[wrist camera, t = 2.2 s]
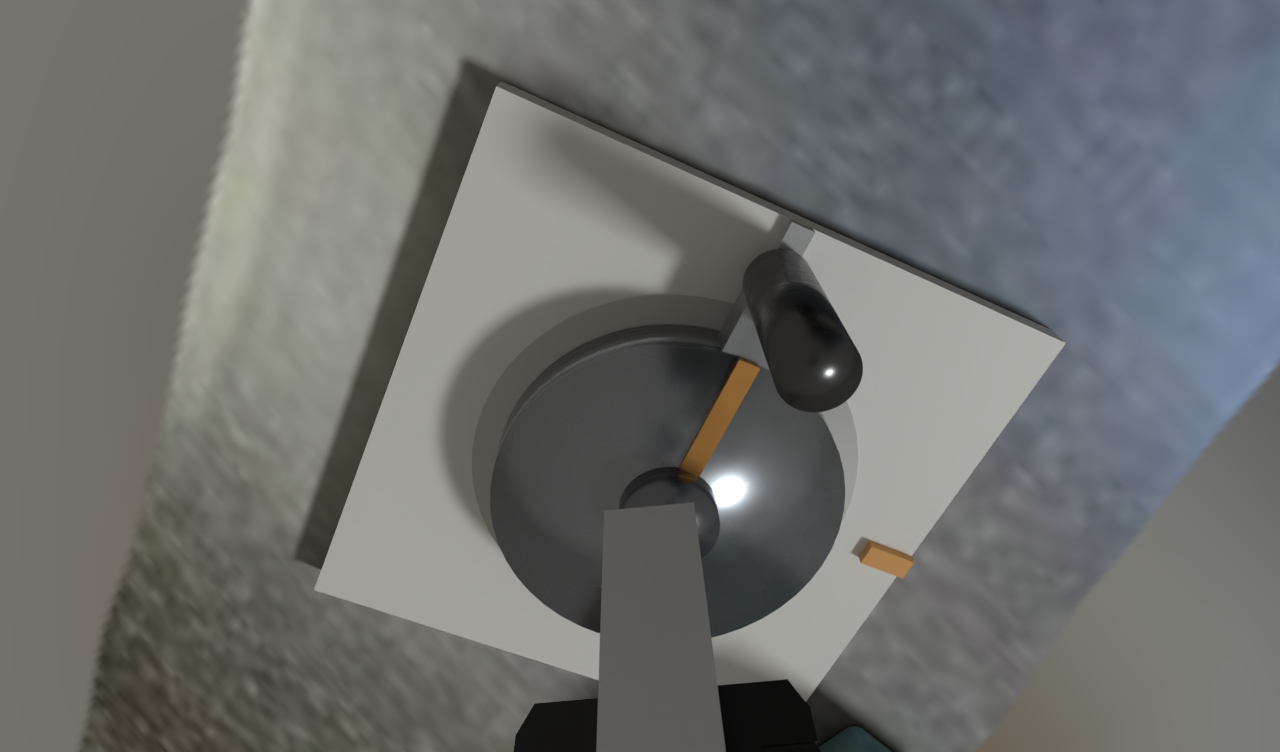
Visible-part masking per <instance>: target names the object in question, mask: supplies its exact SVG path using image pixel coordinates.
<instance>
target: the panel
mask: <svg viewBox="0 0 1280 752" xmlns="http://www.w3.org/2000/svg"><path fill="white" fill-rule="evenodd" d="M774 249H786V250H790V251H793V252H795V253H797V254H799V255H800V256H802V257H803V258H804V259H805V260H806V261H807V263H808V264H809V266H810V268H811V270H812V271H813V273H814V275H815V277H816V278H817V280H818V282H819V284H820V285H821V287H822V289H823V291H824V292H825V294H826V296H827V298H828V299H829V301H830V303H831V305H832V306H833V308H834V310H835V312H836V313H837V315H838V317H839V319H840V320H841V322H842V324H843V326H844V327H845V329H846V331H847V332H848V334H849V336H850V338H851V339H852V341H853V343H854V345H855V346H856V348H857V350H858V352H859V353H860V356H861V359H862V363H863V374H862V379H861V382H860V384H859V386H858V388H857V390H856V391H855V392H854V394H853V395H852V396H851V397H850V398H849V399H848V400H847V401H846V402H844V403H843V404H841V405H840V406H838V407H836V408H833V409H831V410H828V411H824V412H822V413H823V415H824V418H825V420H826V423H827V425H828V427H829V430H830V432H831V434H832V437H833V439H834V442H835V444H836V447H837V449H838V451H839V454H840V458H841V462H842V467H843V471H844V480H845V504H844V513H843V517H842V521H841V525H840V530H839V532H838V535H837V537H836V540H835V542H834V545H833V547H832V549H831V551H830V553H829V554H828V556H827V558H826V560H825V561H824V563H823V565H822V566H821V567H820V569H819V570H818V571H817V573H816V574H815V575H814V577H813V578H812V579H811V580H810V582H809V583H808V584H807V585H806V586H805V587H804V588H803V589H802V590H801V591H800V592H799V593H798V594H797V595H796V596H794V597H793V598H792V599H790V600H789V601H788V602H787V603H785V604H784V605H783V606H782V607H780V608H779V609H777V610H776V611H774V612H772V613H771V614H769V615H767V616H766V617H764V618H763V619H761V620H758V621H756V622H754V623H752V624H750V625H748V626H746V627H744V628H741V629H738V630H735V631H733V632H730V633H727V634H724V635H720V636H716V637H712V638H711V639H712V647H713V655H714V663H715V670H716V678H717V685H728V684H740V683H751V682H762V681H774V680H785V679H788V681H789V682H790V683H791V684H792V686H793V687H794V688H795V689H796V691H797V692H798V693H799V694H800V696H801V697H802V698H803V699H804V701H805V702H806V701H807V700H808V698H809V697H810V696H811V694H812V693H813V692H814V690H815V689H816V687H817V686H818V685H819V683H820V682H821V680H822V679H823V678H824V676H825V675H826V674H827V672H828V671H829V669H830V668H831V667H832V665H833V664H834V662H835V661H836V660H837V658H838V657H839V656H840V654H841V653H842V651H843V650H844V649H845V647H846V646H847V645H848V643H849V642H850V640H851V639H852V638H853V636H854V635H855V633H856V632H857V631H858V629H859V628H860V627H861V625H862V624H863V622H864V621H865V620H866V618H867V617H868V616H869V614H870V613H871V611H872V610H873V609H874V607H875V606H876V604H877V603H878V602H879V600H880V599H881V598H882V596H883V595H884V593H885V592H886V591H887V589H888V588H889V587H890V585H891V584H892V582H893V581H894V580H895V578H896V577H900V578H902V579H903V577H904V576H905V574H906V573H907V572H908V570H909V569H910V568H911V566H912V565H913V563H914V561H913V559H912V557H911V556H912V555H913V553H914V552H915V551H916V549H917V548H918V546H919V545H920V544H921V542H922V541H923V540H924V538H925V537H926V535H927V534H928V533H929V531H930V530H931V529H932V527H933V526H934V524H935V523H936V522H937V520H938V519H939V517H940V516H941V515H942V513H943V512H944V511H945V509H946V508H947V506H948V505H949V504H950V502H951V501H952V499H953V498H954V497H955V495H956V494H957V493H958V491H959V490H960V488H961V487H962V486H963V484H964V483H965V482H966V480H967V479H968V477H969V476H970V475H971V473H972V472H973V470H974V469H975V468H976V466H977V465H978V464H979V462H980V461H981V459H982V458H983V457H984V455H985V454H986V453H987V451H988V450H989V448H990V447H991V446H992V444H993V443H994V441H995V440H996V439H997V437H998V436H999V435H1000V433H1001V432H1002V430H1003V429H1004V428H1005V426H1006V425H1007V424H1008V422H1009V421H1010V419H1011V418H1012V417H1013V415H1014V414H1015V412H1016V411H1017V410H1018V408H1019V407H1020V406H1021V404H1022V403H1023V401H1024V400H1025V399H1026V397H1027V396H1028V395H1029V393H1030V392H1031V390H1032V389H1033V388H1034V386H1035V385H1036V383H1037V382H1038V381H1039V379H1040V378H1041V377H1042V375H1043V374H1044V372H1045V371H1046V370H1047V368H1048V367H1049V365H1050V364H1051V363H1052V361H1053V360H1054V359H1055V357H1056V356H1057V354H1058V353H1059V352H1060V350H1061V349H1062V348H1063V346H1064V345H1065V342H1064V341H1063V340H1062V339H1061V338H1060V337H1059V336H1058V335H1056V334H1055V333H1054V332H1053V331H1052V330H1050V329H1048V328H1046V327H1044V326H1042V325H1039V324H1037V323H1035V322H1033V321H1031V320H1028V319H1026V318H1024V317H1022V316H1019V315H1017V314H1015V313H1013V312H1011V311H1008V310H1006V309H1004V308H1002V307H1000V306H997V305H995V304H993V303H991V302H989V301H986V300H984V299H982V298H980V297H978V296H975V295H973V294H971V293H969V292H966V291H964V290H962V289H960V288H958V287H955V286H953V285H951V284H949V283H947V282H944V281H942V280H940V279H938V278H936V277H933V276H931V275H929V274H927V273H925V272H922V271H920V270H918V269H916V268H913V267H911V266H909V265H907V264H905V263H902V262H900V261H898V260H896V259H894V258H891V257H889V256H887V255H885V254H883V253H880V252H878V251H876V250H874V249H872V248H869V247H867V246H865V245H863V244H860V243H858V242H856V241H854V240H852V239H849V238H847V237H845V236H843V235H841V234H838V233H836V232H834V231H832V230H830V229H827V228H825V227H823V226H821V225H818V224H816V223H814V222H812V221H810V220H807V219H805V218H803V217H801V216H799V215H796V214H794V213H792V212H790V211H788V210H785V209H783V208H781V207H779V206H777V205H774V204H772V203H770V202H768V201H765V200H763V199H761V198H759V197H757V196H754V195H752V194H750V193H748V192H746V191H743V190H741V189H739V188H737V187H735V186H732V185H730V184H728V183H726V182H724V181H721V180H719V179H717V178H715V177H712V176H710V175H708V174H706V173H704V172H701V171H699V170H697V169H695V168H693V167H690V166H688V165H686V164H684V163H682V162H679V161H677V160H675V159H673V158H671V157H668V156H666V155H664V154H662V153H659V152H657V151H655V150H653V149H651V148H648V147H646V146H644V145H642V144H640V143H637V142H635V141H633V140H631V139H629V138H626V137H624V136H622V135H620V134H618V133H615V132H613V131H611V130H609V129H606V128H604V127H602V126H600V125H598V124H595V123H593V122H591V121H589V120H587V119H584V118H582V117H580V116H578V115H576V114H573V113H571V112H569V111H567V110H564V109H562V108H560V107H558V106H556V105H553V104H551V103H549V102H547V101H545V100H542V99H540V98H538V97H536V96H534V95H531V94H529V93H527V92H525V91H523V90H520V89H518V88H516V87H514V86H511V85H509V84H507V83H505V82H503V81H500V83H499V84H498V85H497V86H496V88H495V91H494V94H493V97H492V99H491V102H490V105H489V108H488V110H487V113H486V116H485V119H484V121H483V124H482V127H481V130H480V133H479V135H478V138H477V141H476V144H475V146H474V149H473V152H472V155H471V157H470V160H469V163H468V166H467V169H466V171H465V174H464V177H463V180H462V182H461V185H460V188H459V191H458V193H457V196H456V199H455V202H454V204H453V207H452V210H451V213H450V216H449V218H448V221H447V224H446V227H445V229H444V232H443V235H442V238H441V240H440V243H439V246H438V249H437V251H436V254H435V257H434V260H433V263H432V265H431V268H430V271H429V274H428V276H427V279H426V282H425V285H424V287H423V290H422V293H421V296H420V299H419V301H418V304H417V307H416V310H415V312H414V315H413V318H412V321H411V323H410V326H409V329H408V332H407V334H406V337H405V340H404V343H403V346H402V348H401V351H400V354H399V357H398V359H397V362H396V365H395V368H394V370H393V373H392V376H391V379H390V381H389V384H388V387H387V390H386V393H385V395H384V398H383V401H382V404H381V406H380V409H379V412H378V415H377V417H376V420H375V423H374V426H373V429H372V431H371V434H370V437H369V440H368V442H367V445H366V448H365V451H364V453H363V456H362V459H361V462H360V464H359V467H358V470H357V473H356V476H355V478H354V481H353V484H352V487H351V489H350V492H349V495H348V498H347V500H346V503H345V506H344V509H343V512H342V514H341V517H340V520H339V523H338V525H337V528H336V531H335V534H334V536H333V539H332V542H331V545H330V547H329V550H328V553H327V556H326V559H325V561H324V564H323V567H322V570H321V572H320V575H319V578H318V581H317V583H316V586H315V589H314V590H316V591H319V592H323V593H326V594H329V595H332V596H335V597H338V598H341V599H345V600H348V601H351V602H354V603H357V604H360V605H363V606H367V607H370V608H373V609H376V610H379V611H382V612H385V613H389V614H392V615H395V616H398V617H401V618H404V619H407V620H411V621H414V622H417V623H420V624H423V625H426V626H429V627H433V628H436V629H439V630H442V631H445V632H448V633H451V634H455V635H458V636H461V637H464V638H467V639H470V640H473V641H477V642H480V643H483V644H486V645H489V646H492V647H495V648H499V649H502V650H505V651H508V652H511V653H514V654H517V655H521V656H524V657H527V658H530V659H533V660H536V661H539V662H543V663H546V664H549V665H552V666H555V667H558V668H561V669H565V670H568V671H571V672H574V673H577V674H580V675H583V676H587V677H590V678H593V679H596V680H599V653H600V633H597V632H594V631H592V630H589V629H586V628H584V627H581V626H579V625H577V624H575V623H573V622H571V621H569V620H567V619H566V618H564V617H562V616H560V615H559V614H557V613H556V612H554V611H553V610H551V609H550V608H548V607H547V606H546V605H544V604H543V603H542V602H541V601H540V600H539V599H537V598H536V597H535V596H534V595H533V594H532V593H531V592H529V590H528V589H527V588H526V587H525V586H524V585H523V584H522V582H521V581H520V580H519V579H518V578H517V577H516V575H515V574H514V572H513V571H512V569H511V567H510V566H509V564H508V563H507V561H506V559H505V557H504V555H503V553H502V551H501V549H500V547H499V545H498V542H497V539H496V535H495V532H494V528H493V525H492V518H491V510H490V486H491V480H492V475H493V469H494V465H495V461H496V457H497V453H498V449H499V445H500V441H501V437H502V434H503V431H504V429H505V426H506V423H507V420H508V418H509V416H510V414H511V412H512V410H513V409H514V407H515V405H516V403H517V401H518V400H519V399H520V397H521V396H522V394H523V393H524V392H525V390H526V389H527V388H528V386H529V385H530V384H531V383H532V382H533V381H534V380H535V379H536V378H537V377H538V376H539V375H540V374H541V373H542V372H543V371H544V370H545V369H546V368H547V367H549V366H550V365H551V364H552V363H554V362H555V361H556V360H557V359H559V358H560V357H561V356H563V355H565V354H566V353H568V352H570V351H571V350H573V349H575V348H576V347H578V346H580V345H582V344H584V343H586V342H589V341H591V340H593V339H596V338H598V337H600V336H603V335H606V334H609V333H613V332H616V331H620V330H623V329H627V328H633V327H640V326H646V325H660V324H680V325H692V326H700V327H705V328H710V329H714V330H719V331H720V330H721V328H722V326H723V324H724V322H725V320H726V319H727V317H728V315H729V313H730V311H731V309H732V307H733V305H734V303H735V302H736V300H737V298H738V296H739V294H740V292H741V290H742V288H743V287H742V282H743V276H744V273H745V271H746V269H747V267H748V266H749V264H750V263H751V262H752V261H753V260H754V259H755V258H756V257H757V256H759V255H760V254H762V253H764V252H767V251H770V250H774Z"/></svg>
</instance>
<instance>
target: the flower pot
mask: <svg viewBox="0 0 1280 752" xmlns="http://www.w3.org/2000/svg"><path fill="white" fill-rule="evenodd" d="M819 748H820V751H821V752H892V751H890V750H889V749H888V748H886V747H885V746H884V745H883V744H881V743H880V742H879V741H877V740H876V739H875V738H874V737H872V736H871V735H870V734H869V733H867V732H866V731H865V730H863V729H862V728H860V727H857V726H851V727H849V728H847V729H845V730H843V731H842V732H840V733H839V734H837V735H836V736H834V737H833V738H832V739H830V740H829V741H827V742H826V743H824V744H823V745H821V746H820V747H819Z"/></svg>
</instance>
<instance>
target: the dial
mask: <svg viewBox="0 0 1280 752" xmlns="http://www.w3.org/2000/svg"><path fill="white" fill-rule="evenodd" d="M742 287H743V288H742V290H741V292H740V294H739V296H738V298H737V300H736V302H735V303H734V305H733V307H732V309H731V311H730V313H729V315H728V317H727V319H726V320H725V322H724V324H723V326H722V328H721V330H720V331H719V330H714V329H710V328H705V327H700V326H692V325H680V324H660V325H646V326H640V327H633V328H627V329H623V330H620V331H616V332H613V333H609V334H606V335H603V336H600V337H598V338H596V339H593V340H591V341H589V342H586V343H584V344H582V345H580V346H578V347H576V348H575V349H573V350H571V351H570V352H568V353H566V354H565V355H563V356H561V357H560V358H559V359H557V360H556V361H555V362H554V363H552V364H551V365H550V366H549V367H547V368H546V369H545V370H544V371H543V372H542V373H541V374H540V375H539V376H538V377H537V378H536V379H535V380H534V381H533V382H532V383H531V384H530V385H529V386H528V388H527V389H526V390H525V392H524V393H523V394H522V396H521V397H520V399H519V400H518V401H517V403H516V405H515V407H514V409H513V410H512V412H511V414H510V416H509V418H508V420H507V423H506V426H505V429H504V431H503V434H502V437H501V441H500V445H499V449H498V453H497V457H496V461H495V465H494V469H493V475H492V480H491V486H490V510H491V518H492V525H493V528H494V532H495V535H496V539H497V542H498V545H499V547H500V549H501V551H502V553H503V555H504V557H505V559H506V561H507V563H508V564H509V566H510V567H511V569H512V571H513V572H514V574H515V575H516V577H517V578H518V579H519V580H520V581H521V582H522V584H523V585H524V586H525V587H526V588H527V589H528V590H529V592H531V593H532V594H533V595H534V596H535V597H536V598H537V599H539V600H540V601H541V602H542V603H543V604H544V605H546V606H547V607H548V608H550V609H551V610H553V611H554V612H556V613H557V614H559V615H560V616H562V617H564V618H566V619H567V620H569V621H571V622H573V623H575V624H577V625H579V626H581V627H584V628H586V629H589V630H592V631H594V632H597V633H600V622H601V592H602V561H603V530H604V511H607V510H617V509H628V508H639V507H649V506H660V505H670V504H681V503H691V502H694V506H695V514H696V522H697V530H698V538H699V545H700V553H701V561H702V569H703V577H704V584H705V592H706V600H707V608H708V616H709V623H710V631H711V638H712V637H716V636H720V635H724V634H727V633H730V632H733V631H735V630H738V629H741V628H744V627H746V626H748V625H750V624H752V623H754V622H756V621H758V620H761V619H763V618H764V617H766V616H767V615H769V614H771V613H772V612H774V611H776V610H777V609H779V608H780V607H782V606H783V605H784V604H785V603H787V602H788V601H789V600H790V599H792V598H793V597H794V596H796V595H797V594H798V593H799V592H800V591H801V590H802V589H803V588H804V587H805V586H806V585H807V584H808V583H809V582H810V580H811V579H812V578H813V577H814V575H815V574H816V573H817V571H818V570H819V569H820V567H821V566H822V565H823V563H824V561H825V560H826V558H827V556H828V554H829V553H830V551H831V549H832V547H833V545H834V542H835V540H836V537H837V535H838V532H839V530H840V525H841V521H842V517H843V513H844V504H845V480H844V471H843V467H842V462H841V458H840V454H839V451H838V449H837V447H836V444H835V442H834V439H833V437H832V434H831V432H830V430H829V427H828V425H827V423H826V420H825V418H824V415H823V413H822V412H824V411H828V410H831V409H833V408H836V407H838V406H840V405H841V404H843V403H844V402H846V401H847V400H848V399H849V398H850V397H851V396H852V395H853V394H854V392H855V391H856V390H857V388H858V386H859V384H860V382H861V379H862V374H863V363H862V359H861V356H860V353H859V352H858V350H857V348H856V346H855V345H854V343H853V341H852V339H851V338H850V336H849V334H848V332H847V331H846V329H845V327H844V326H843V324H842V322H841V320H840V319H839V317H838V315H837V313H836V312H835V310H834V308H833V306H832V305H831V303H830V301H829V299H828V298H827V296H826V294H825V292H824V291H823V289H822V287H821V285H820V284H819V282H818V280H817V278H816V277H815V275H814V273H813V271H812V270H811V268H810V266H809V264H808V263H807V261H806V260H805V259H804V258H803V257H802V256H800V255H799V254H797V253H795V252H793V251H790V250H786V249H774V250H770V251H767V252H764V253H762V254H760V255H759V256H757V257H756V258H755V259H754V260H753V261H752V262H751V263H750V264H749V266H748V267H747V269H746V271H745V273H744V276H743V282H742Z"/></svg>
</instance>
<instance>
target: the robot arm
mask: <svg viewBox="0 0 1280 752" xmlns="http://www.w3.org/2000/svg"><path fill="white" fill-rule="evenodd" d="M514 752H821V751H820V748H819V746H818V739H817V735H816V731H815V727H814V723H813V719H812V715H811V711H810V707H809V706H808V705H807V703H806V702H805V701H804V699H803V698H802V697H801V696H800V694H799V693H798V692H797V691H796V689H795V688H794V687H793V686H792V684H791V683H790V682H789V681H788V679H785V680H774V681H762V682H751V683H740V684H728V685H717V678H716V670H715V663H714V655H713V647H712V639H711V631H710V623H709V616H708V608H707V600H706V592H705V584H704V577H703V569H702V561H701V553H700V545H699V538H698V530H697V522H696V514H695V506H694V502H691V503H681V504H670V505H660V506H649V507H639V508H628V509H617V510H607V511H604V530H603V561H602V592H601V622H600V653H599V683H598V698H595V699H584V700H572V701H561V702H550V703H538V704H534V706H533V708H532V709H531V711H530V713H529V714H528V716H527V718H526V719H525V721H524V723H523V724H522V726H521V728H520V729H519V731H518V733H517V734H516V738H515V746H514Z"/></svg>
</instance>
